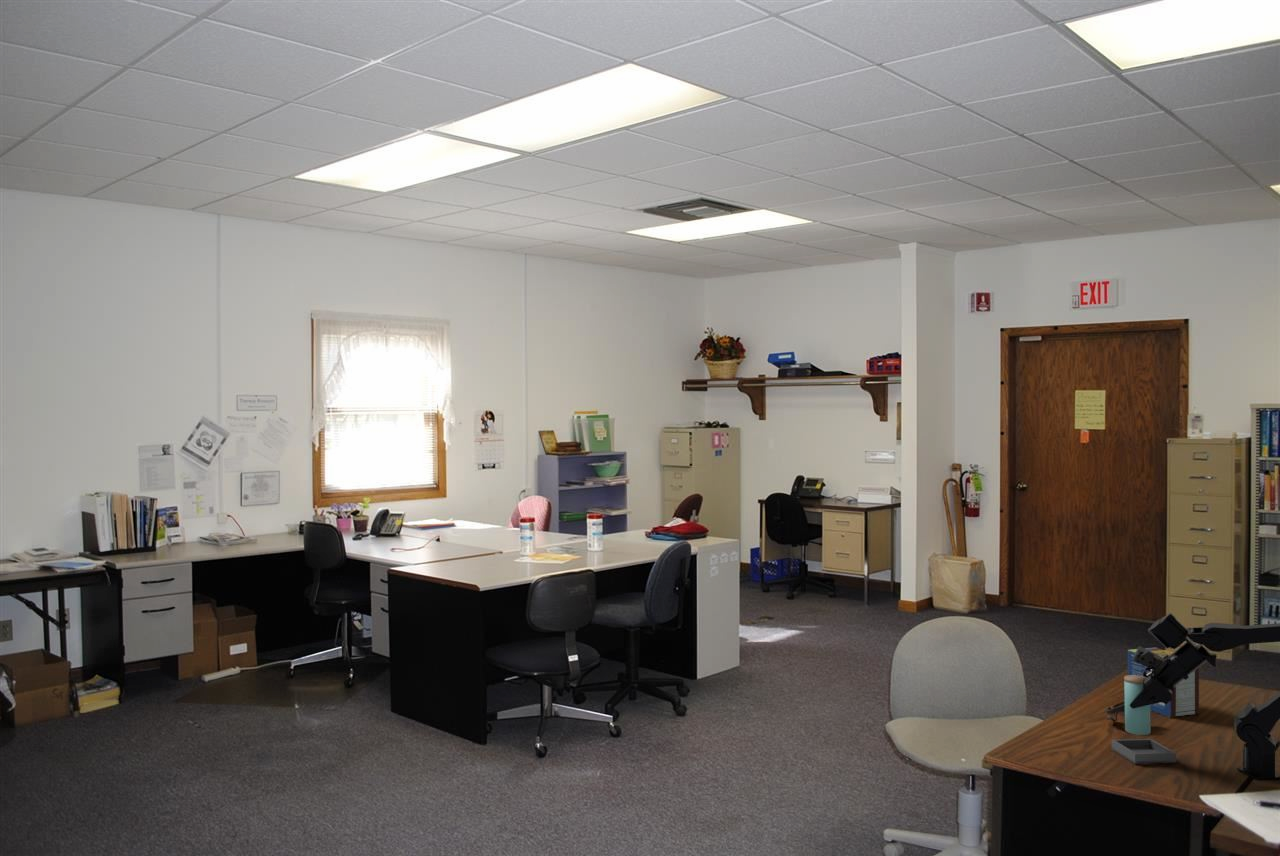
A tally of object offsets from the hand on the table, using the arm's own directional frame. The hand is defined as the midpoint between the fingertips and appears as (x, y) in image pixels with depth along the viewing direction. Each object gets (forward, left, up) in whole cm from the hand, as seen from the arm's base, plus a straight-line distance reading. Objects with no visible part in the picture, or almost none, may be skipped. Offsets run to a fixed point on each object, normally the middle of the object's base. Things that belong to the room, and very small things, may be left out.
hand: (1131, 703), depth 236 cm
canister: (-1, -1, -7) cm, 7 cm away
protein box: (+36, -31, -13) cm, 49 cm away
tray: (-1, -3, -13) cm, 13 cm away
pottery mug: (+21, -12, -13) cm, 28 cm away
